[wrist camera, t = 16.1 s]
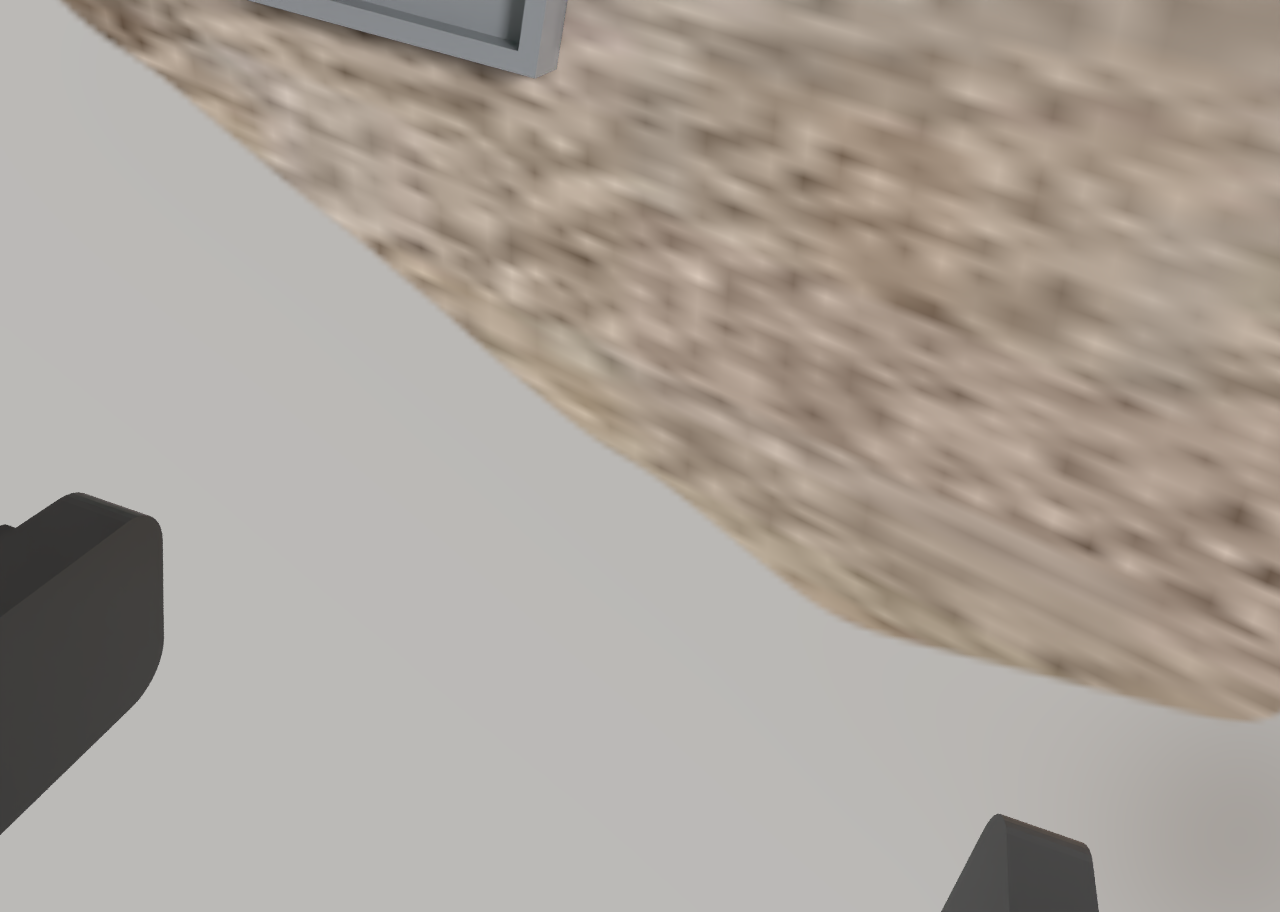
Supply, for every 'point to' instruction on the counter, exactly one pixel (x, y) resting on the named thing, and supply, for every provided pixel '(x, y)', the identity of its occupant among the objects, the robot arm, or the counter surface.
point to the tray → (455, 27)
